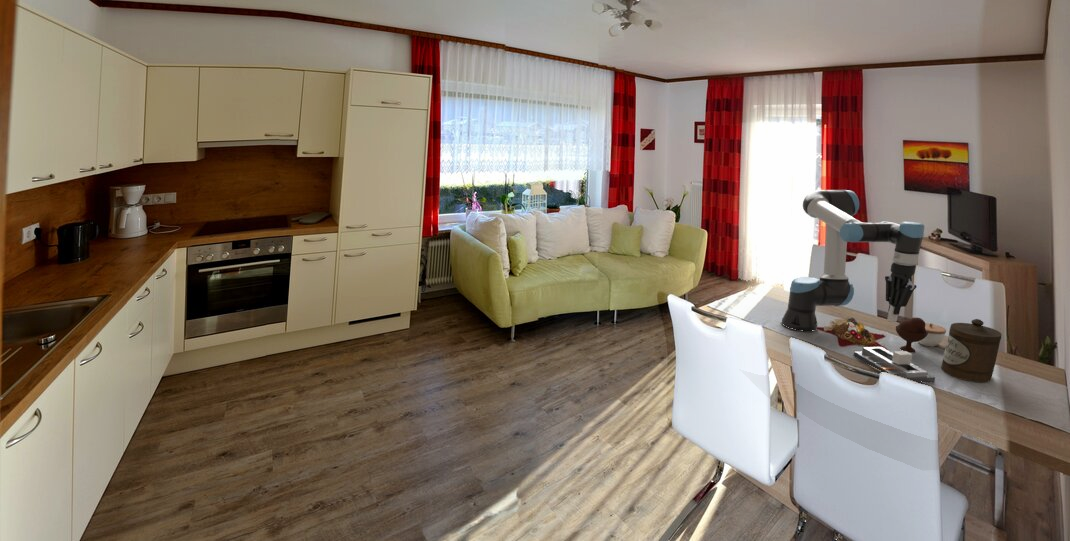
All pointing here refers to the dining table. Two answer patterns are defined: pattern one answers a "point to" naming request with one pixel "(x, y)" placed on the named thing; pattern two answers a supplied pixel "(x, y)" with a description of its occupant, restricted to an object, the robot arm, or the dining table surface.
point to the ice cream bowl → (911, 332)
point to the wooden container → (971, 351)
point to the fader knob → (902, 358)
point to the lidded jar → (933, 335)
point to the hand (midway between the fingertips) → (891, 321)
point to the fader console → (891, 364)
